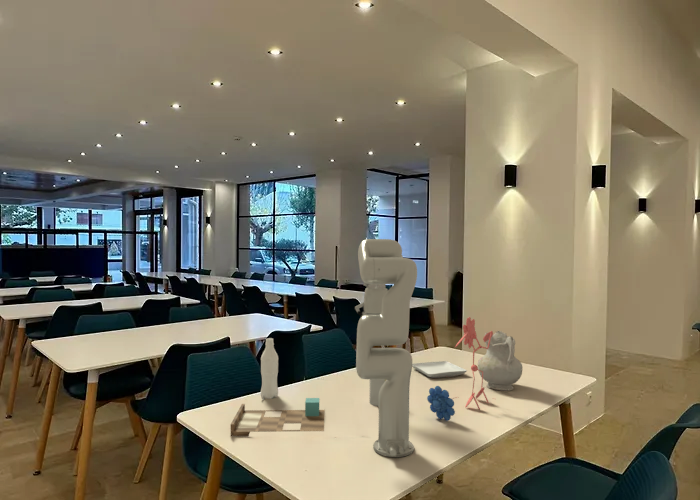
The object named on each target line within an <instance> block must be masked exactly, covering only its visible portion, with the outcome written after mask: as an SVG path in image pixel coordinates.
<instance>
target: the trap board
mask: <svg viewBox="0 0 700 500" xmlns="http://www.w3.org/2000/svg"><path fill="white" fill-rule="evenodd" d="M245 405H246V403H241V405H240V407H239V409H238V410H237V412H236V414H235V416H234V417H233V419H232V421H231V423H230V437H249V435H250V433H253V432H257V433H258V432H268V433H269V432H270V433H271V432H324V431H325V417H326V416H325V414H326V413H325V411H326V410H325V409H319V416H305V409H273V410H272V409H269V410H266V409H263V410H261V409H260V410H257V409H256V410H255V409H254V410H253V409H252V410H245V409H246V406H245ZM266 412H280V416H265V415H266ZM284 424H300V429H284V426H285V425H284Z"/></svg>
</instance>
